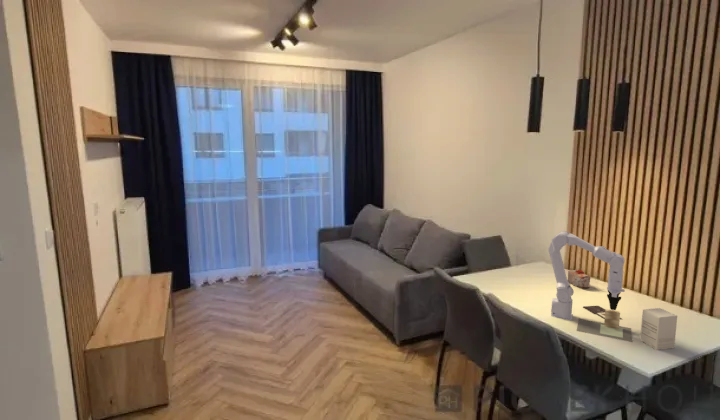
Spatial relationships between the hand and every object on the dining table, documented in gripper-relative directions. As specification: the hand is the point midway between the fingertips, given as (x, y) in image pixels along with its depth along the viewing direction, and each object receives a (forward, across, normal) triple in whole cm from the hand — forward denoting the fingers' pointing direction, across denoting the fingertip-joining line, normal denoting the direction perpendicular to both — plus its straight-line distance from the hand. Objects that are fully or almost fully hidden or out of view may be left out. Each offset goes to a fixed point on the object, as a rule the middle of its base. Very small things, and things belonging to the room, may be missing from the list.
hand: (613, 306), depth 192 cm
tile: (+10, -1, 0) cm, 10 cm away
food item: (+11, +59, +18) cm, 62 cm away
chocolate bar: (+11, +16, +4) cm, 20 cm away
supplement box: (+11, -10, -17) cm, 22 cm away
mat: (+10, -6, +3) cm, 12 cm away
